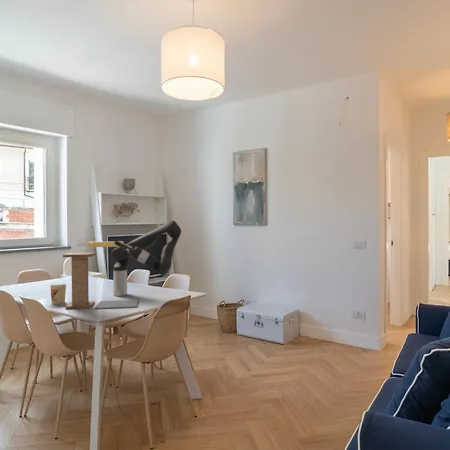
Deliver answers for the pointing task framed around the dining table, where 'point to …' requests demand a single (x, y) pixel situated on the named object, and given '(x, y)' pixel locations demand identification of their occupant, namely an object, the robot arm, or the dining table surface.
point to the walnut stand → (80, 281)
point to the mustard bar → (102, 244)
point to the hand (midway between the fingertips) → (115, 241)
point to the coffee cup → (58, 293)
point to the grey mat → (117, 304)
